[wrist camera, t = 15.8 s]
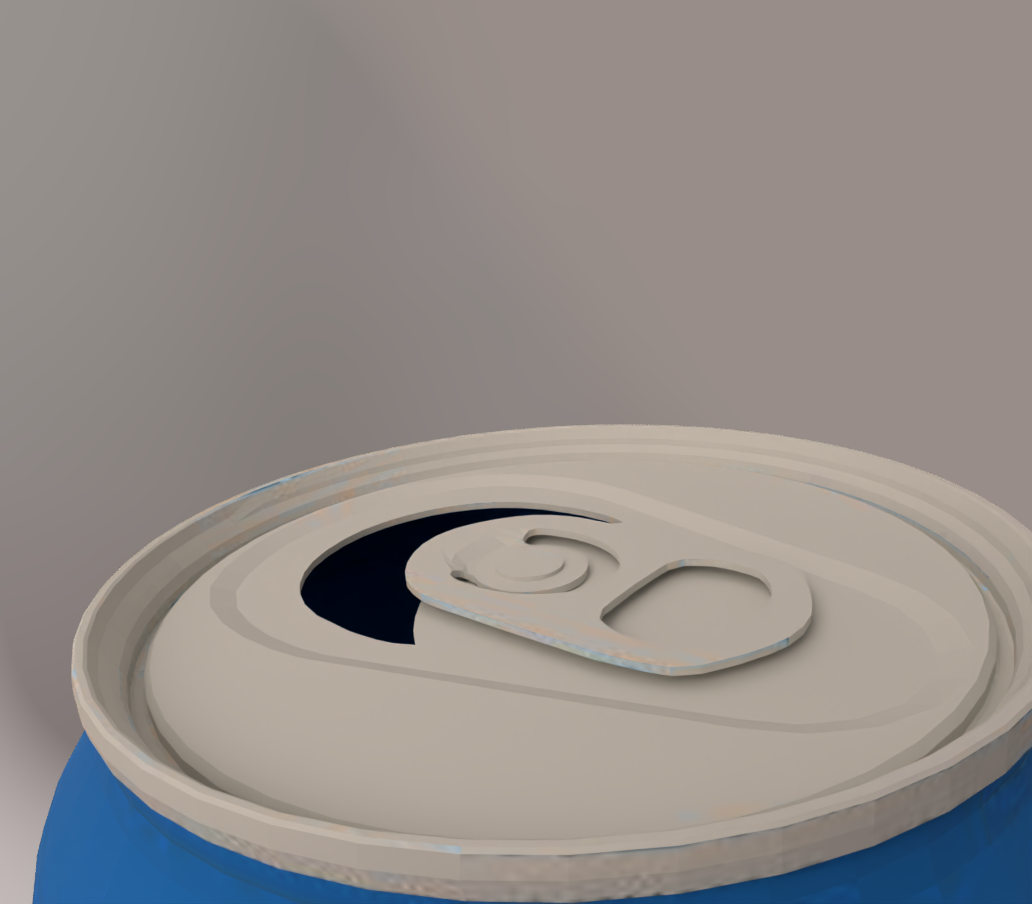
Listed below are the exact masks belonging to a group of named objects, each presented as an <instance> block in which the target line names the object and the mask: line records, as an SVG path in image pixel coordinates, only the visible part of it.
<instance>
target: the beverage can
mask: <svg viewBox="0 0 1032 904" xmlns="http://www.w3.org/2000/svg"><path fill="white" fill-rule="evenodd" d="M71 675H72V688H73V689H72V690H73V694H74V697H75V701H76V705H77V708H78V712H79V716H80V719H81V723H82V725H83V727H84V729H85V730H84V732H83V734H82V736H81V738H80V740H79V742H78V744H77V745H76V747H75V749H74V751H73V753H72V755H71V757H70V759H69V761H68V763H67V765H66V767H65V769H64V771H63V773H62V775H61V778H60V780H59V782H58V785H57V787H56V791H55V794H54V797H53V800H52V803H51V807H50V810H49V813H48V816H47V819H46V823H45V826H44V829H43V834H42V838H41V842H40V846H39V850H38V854H37V863H36V873H35V884H34V894H33V904H1032V532H1031V531H1030V530H1028V529H1027V528H1026V527H1025V526H1023V525H1022V524H1021V523H1020V522H1018V521H1017V520H1016V519H1014V518H1013V517H1012V516H1011V515H1009V514H1008V513H1007V512H1005V511H1004V510H1002V509H1001V508H999V507H997V506H995V505H994V504H992V503H990V502H989V501H987V500H985V499H983V498H982V497H980V496H979V495H977V494H975V493H973V492H971V491H969V490H967V489H965V488H963V487H960V486H958V485H956V484H954V483H952V482H949V481H947V480H945V479H943V478H941V477H939V476H936V475H933V474H930V473H928V472H925V471H922V470H919V469H917V468H914V467H911V466H908V465H906V464H903V463H899V462H896V461H893V460H889V459H886V458H882V457H879V456H875V455H872V454H868V453H865V452H861V451H856V450H852V449H847V448H843V447H839V446H835V445H830V444H826V443H820V442H815V441H809V440H804V439H798V438H792V437H786V436H779V435H772V434H764V433H757V432H749V431H740V430H729V429H717V428H707V427H688V426H671V425H579V426H558V427H542V428H529V429H517V430H506V431H498V432H489V433H480V434H471V435H464V436H458V437H451V438H445V439H437V440H432V441H427V442H421V443H415V444H410V445H404V446H399V447H394V448H390V449H385V450H380V451H376V452H372V453H368V454H363V455H358V456H354V457H351V458H347V459H343V460H340V461H336V462H332V463H328V464H324V465H321V466H318V467H315V468H311V469H308V470H305V471H302V472H299V473H295V474H293V475H289V476H286V477H283V478H281V479H278V480H275V481H272V482H270V483H267V484H264V485H261V486H259V487H256V488H253V489H251V490H248V491H246V492H244V493H241V494H239V495H237V496H235V497H232V498H230V499H228V500H226V501H223V502H221V503H219V504H216V505H214V506H212V507H210V508H209V509H207V510H205V511H203V512H201V513H199V514H197V515H195V516H193V517H191V518H189V519H187V520H186V521H184V522H182V523H180V524H179V525H177V526H176V527H174V528H173V529H171V530H169V531H168V532H166V533H165V534H163V535H161V536H160V537H158V538H157V539H155V540H153V541H152V542H151V543H150V544H148V545H147V546H146V547H145V548H143V549H142V550H141V551H140V552H138V553H137V554H136V555H135V556H133V557H132V558H130V559H129V560H128V561H127V562H126V563H125V564H124V565H123V566H122V567H121V568H120V569H119V570H118V571H117V572H116V573H115V574H114V575H113V576H112V577H111V578H110V579H109V580H108V581H107V582H106V583H105V584H104V585H103V586H102V588H101V589H100V590H99V592H98V593H97V595H96V596H95V598H94V599H93V601H92V602H91V604H90V605H89V607H88V608H87V610H86V611H85V613H84V614H83V617H82V620H81V622H80V625H79V627H78V630H77V633H76V635H75V638H74V641H73V652H72V669H71Z"/></svg>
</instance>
